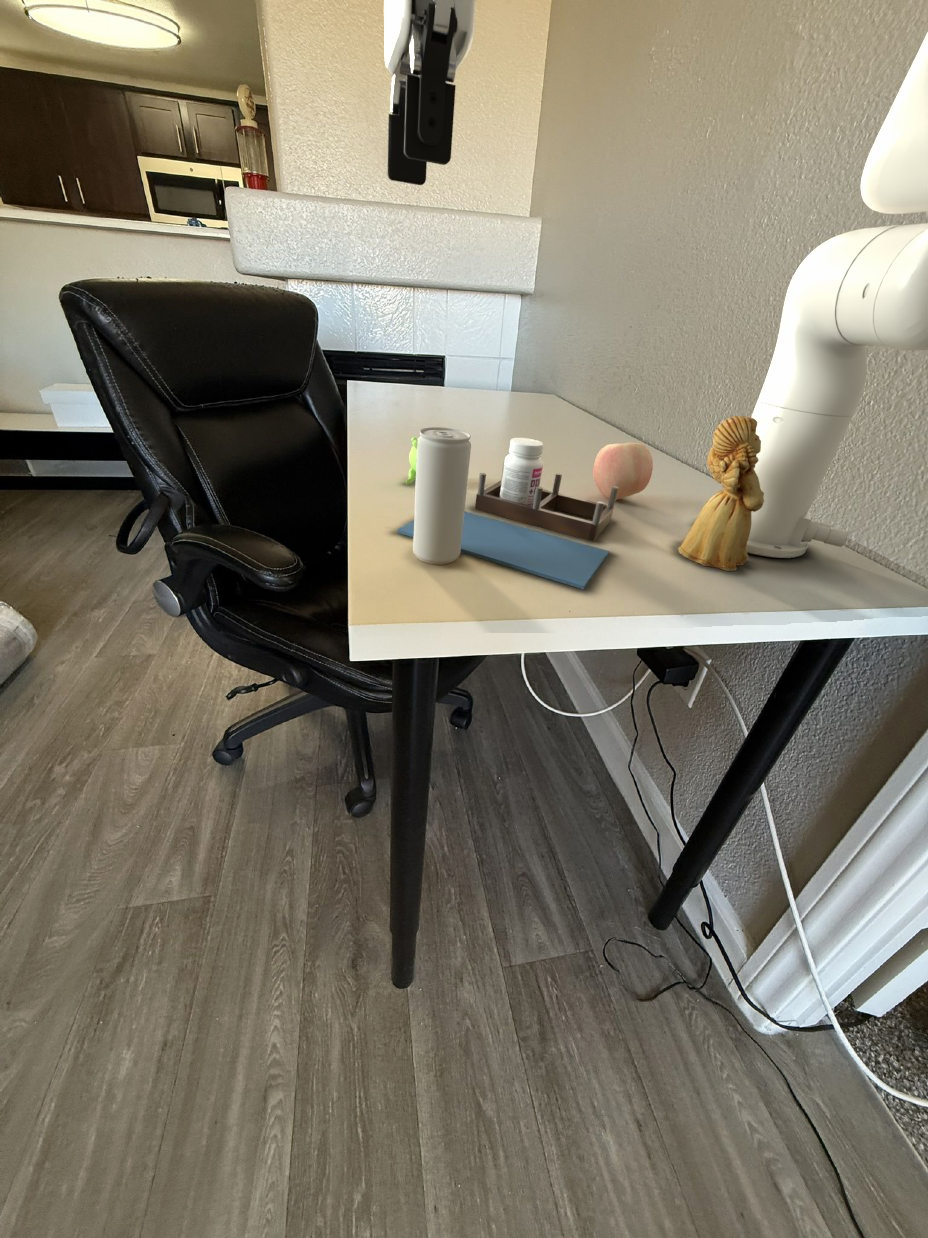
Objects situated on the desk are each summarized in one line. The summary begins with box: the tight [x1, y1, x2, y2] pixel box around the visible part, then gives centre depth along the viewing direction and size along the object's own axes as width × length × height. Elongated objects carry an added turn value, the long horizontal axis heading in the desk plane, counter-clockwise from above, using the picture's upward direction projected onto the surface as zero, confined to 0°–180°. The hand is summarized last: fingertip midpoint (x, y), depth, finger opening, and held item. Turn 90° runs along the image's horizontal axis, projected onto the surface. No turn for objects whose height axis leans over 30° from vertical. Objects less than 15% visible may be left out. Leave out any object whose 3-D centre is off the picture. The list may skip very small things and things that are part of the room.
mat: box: [397, 511, 610, 590], centre depth 57 cm, size 21×10×1 cm, turn 63°
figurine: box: [677, 415, 764, 572], centre depth 55 cm, size 8×8×15 cm
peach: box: [592, 442, 654, 501], centre depth 72 cm, size 8×8×8 cm
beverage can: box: [412, 426, 472, 566], centre depth 49 cm, size 5×5×12 cm
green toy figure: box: [405, 436, 418, 486], centre depth 72 cm, size 6×5×6 cm
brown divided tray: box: [474, 460, 619, 542], centre depth 64 cm, size 15×8×4 cm, turn 63°
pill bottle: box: [499, 437, 544, 506], centre depth 65 cm, size 5×5×8 cm
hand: (415, 172), depth 40 cm, fingers open, 9 cm apart
